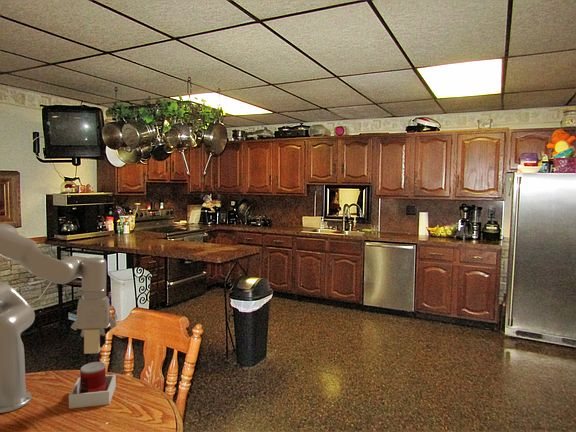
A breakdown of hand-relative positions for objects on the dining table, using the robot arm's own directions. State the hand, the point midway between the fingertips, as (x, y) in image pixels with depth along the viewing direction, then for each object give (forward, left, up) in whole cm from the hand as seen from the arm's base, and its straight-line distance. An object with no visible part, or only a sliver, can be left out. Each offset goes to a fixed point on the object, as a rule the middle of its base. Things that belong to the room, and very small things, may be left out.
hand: (93, 345), depth 138 cm
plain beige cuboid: (0, 0, -1) cm, 1 cm away
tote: (-1, +1, -19) cm, 19 cm away
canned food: (-1, +1, -19) cm, 19 cm away
